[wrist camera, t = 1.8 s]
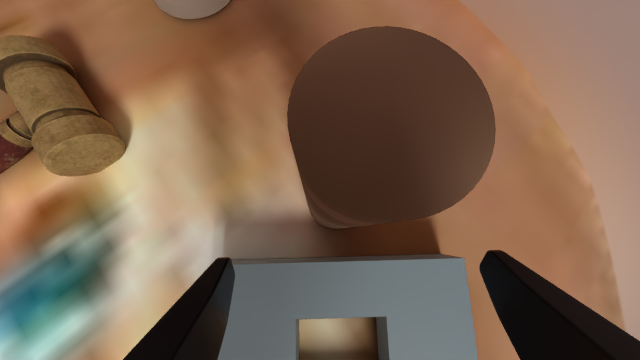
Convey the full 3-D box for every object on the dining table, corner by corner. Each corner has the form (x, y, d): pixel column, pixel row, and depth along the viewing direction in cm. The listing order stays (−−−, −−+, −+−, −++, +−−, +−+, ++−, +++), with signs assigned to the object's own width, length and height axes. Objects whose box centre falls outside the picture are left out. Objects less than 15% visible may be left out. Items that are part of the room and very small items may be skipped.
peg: (370, 203, 20) (536, 117, 5) (334, 240, 19) (399, 270, 4) (334, 167, 20) (385, -7, 5) (298, 202, 19) (243, 112, 5)
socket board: (463, 443, 16) (495, 489, 13) (218, 454, 16) (196, 504, 13) (441, 253, 19) (464, 258, 16) (227, 259, 18) (210, 265, 16)
